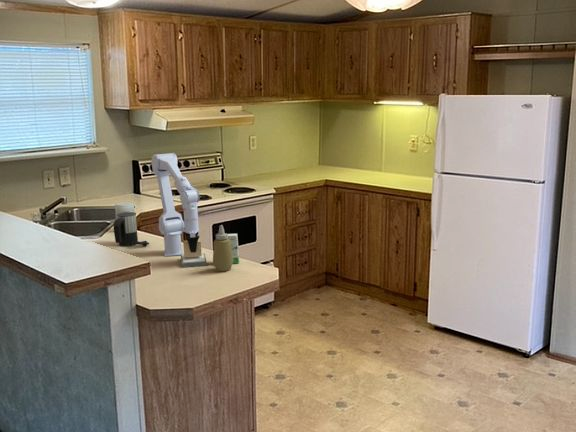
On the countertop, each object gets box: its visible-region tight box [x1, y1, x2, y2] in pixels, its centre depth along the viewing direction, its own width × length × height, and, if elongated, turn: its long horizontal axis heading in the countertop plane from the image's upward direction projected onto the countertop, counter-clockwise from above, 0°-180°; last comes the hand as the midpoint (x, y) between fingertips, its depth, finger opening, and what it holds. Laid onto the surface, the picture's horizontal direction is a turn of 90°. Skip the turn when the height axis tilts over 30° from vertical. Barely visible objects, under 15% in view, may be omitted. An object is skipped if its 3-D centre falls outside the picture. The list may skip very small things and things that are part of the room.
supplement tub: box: [114, 201, 135, 220], centre depth 324 cm, size 10×10×15 cm
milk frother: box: [112, 211, 150, 247], centre depth 293 cm, size 14×16×15 cm
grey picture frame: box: [180, 252, 208, 269], centre depth 261 cm, size 14×10×2 cm
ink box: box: [227, 233, 240, 265], centre depth 258 cm, size 9×5×12 cm, turn 92°
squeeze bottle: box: [212, 224, 233, 272], centre depth 248 cm, size 8×8×18 cm
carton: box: [182, 239, 203, 257], centre depth 260 cm, size 7×4×6 cm, turn 101°
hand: (193, 250), depth 261 cm, fingers closed on carton, 4 cm apart
